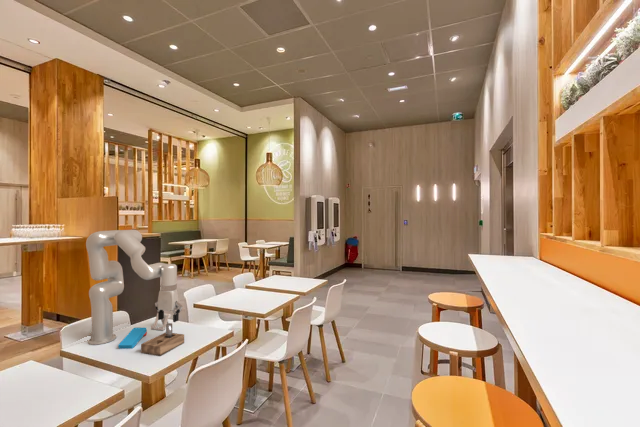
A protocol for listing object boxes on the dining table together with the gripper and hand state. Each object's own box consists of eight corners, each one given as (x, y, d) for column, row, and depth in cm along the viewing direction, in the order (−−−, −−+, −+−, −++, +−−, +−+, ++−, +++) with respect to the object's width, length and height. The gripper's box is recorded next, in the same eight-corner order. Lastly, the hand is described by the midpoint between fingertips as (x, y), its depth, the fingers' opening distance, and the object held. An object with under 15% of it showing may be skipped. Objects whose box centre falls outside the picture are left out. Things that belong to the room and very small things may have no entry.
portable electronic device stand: (150, 329, 184) (150, 315, 184) (161, 325, 191) (160, 311, 191) (162, 331, 181) (162, 317, 181) (172, 326, 189) (172, 312, 189)
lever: (133, 356, 159) (151, 333, 177) (131, 345, 157) (149, 323, 175) (120, 356, 159) (139, 334, 177) (118, 345, 157) (137, 323, 175)
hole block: (141, 353, 153) (141, 343, 153) (166, 340, 168) (166, 332, 168) (160, 356, 149) (160, 346, 149) (184, 342, 164) (184, 334, 164)
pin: (164, 343, 161) (164, 324, 161) (169, 341, 164) (169, 322, 164) (169, 344, 160) (169, 325, 160) (173, 342, 163) (173, 323, 163)
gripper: (150, 288, 161) (149, 320, 161) (176, 291, 156) (176, 324, 156) (161, 284, 168) (161, 316, 169) (187, 287, 163) (186, 319, 163)
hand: (168, 320), depth 162 cm, fingers open, 9 cm apart
